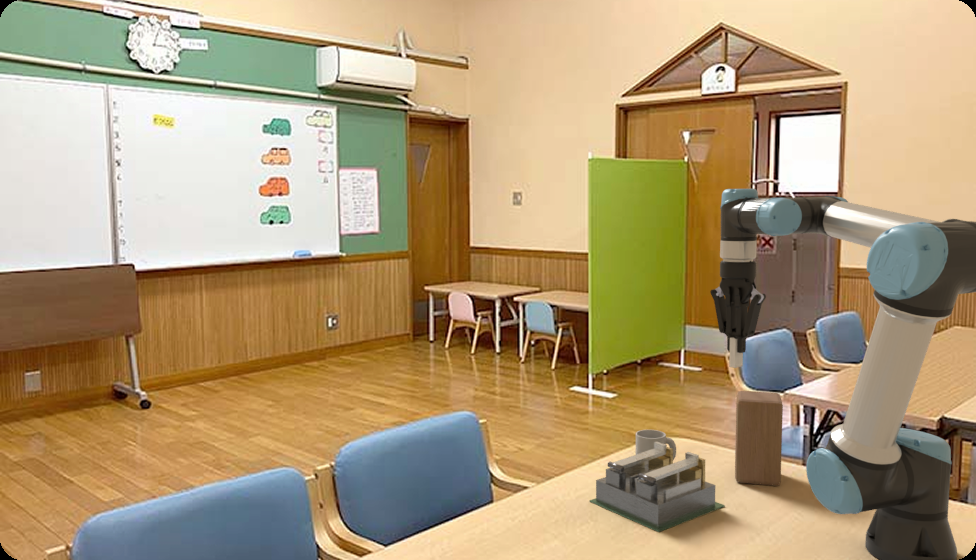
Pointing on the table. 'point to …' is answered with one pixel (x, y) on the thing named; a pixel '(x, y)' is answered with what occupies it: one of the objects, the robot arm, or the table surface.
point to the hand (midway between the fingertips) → (735, 366)
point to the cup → (652, 441)
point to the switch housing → (657, 494)
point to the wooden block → (758, 438)
